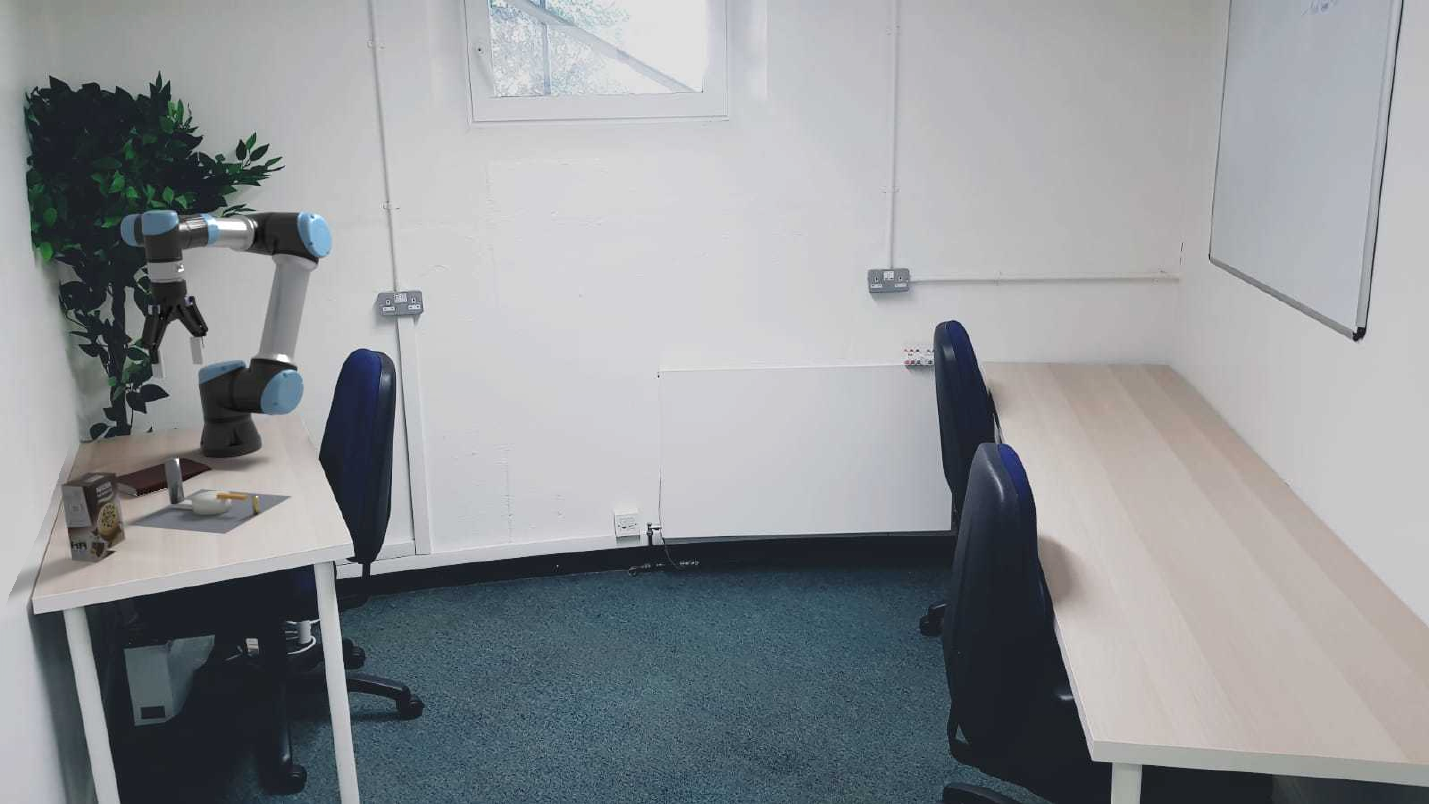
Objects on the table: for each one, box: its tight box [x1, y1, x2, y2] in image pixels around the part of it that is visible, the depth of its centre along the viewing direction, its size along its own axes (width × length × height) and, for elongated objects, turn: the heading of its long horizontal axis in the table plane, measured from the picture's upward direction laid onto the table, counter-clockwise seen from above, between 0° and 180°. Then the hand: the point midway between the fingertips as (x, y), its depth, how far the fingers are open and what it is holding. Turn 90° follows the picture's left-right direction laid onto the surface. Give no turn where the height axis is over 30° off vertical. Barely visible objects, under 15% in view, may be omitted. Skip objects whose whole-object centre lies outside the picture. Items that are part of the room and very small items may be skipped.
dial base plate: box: [128, 488, 292, 534], centre depth 267 cm, size 24×24×6 cm
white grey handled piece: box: [163, 456, 248, 516], centre depth 266 cm, size 20×8×11 cm, turn 75°
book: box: [116, 457, 212, 497], centre depth 292 cm, size 12×19×3 cm, turn 144°
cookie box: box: [60, 471, 126, 563], centre depth 245 cm, size 9×6×16 cm
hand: (179, 370), depth 279 cm, fingers open, 13 cm apart
